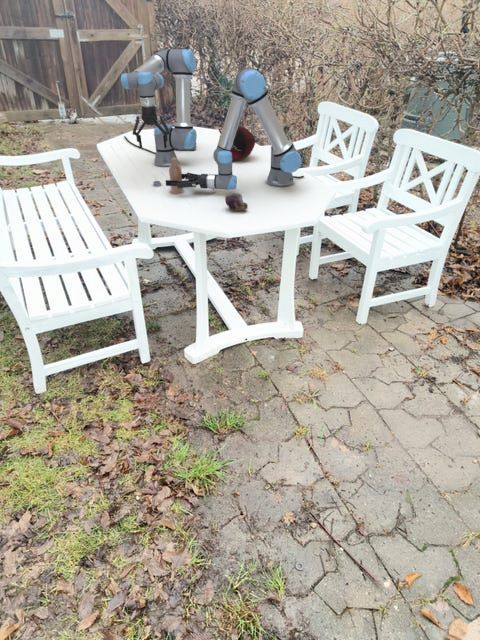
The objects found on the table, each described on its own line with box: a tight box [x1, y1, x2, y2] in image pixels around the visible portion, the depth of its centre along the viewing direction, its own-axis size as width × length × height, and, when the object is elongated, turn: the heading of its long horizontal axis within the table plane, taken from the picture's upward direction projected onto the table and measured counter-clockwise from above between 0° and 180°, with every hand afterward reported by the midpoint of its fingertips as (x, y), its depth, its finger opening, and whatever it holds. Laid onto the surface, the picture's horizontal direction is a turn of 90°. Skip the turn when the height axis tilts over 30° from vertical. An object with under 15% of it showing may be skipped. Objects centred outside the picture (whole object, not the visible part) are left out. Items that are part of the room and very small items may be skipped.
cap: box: [152, 180, 162, 187], centre depth 258 cm, size 4×4×2 cm
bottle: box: [168, 157, 184, 195], centre depth 243 cm, size 7×7×18 cm
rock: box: [224, 192, 249, 212], centre depth 223 cm, size 12×9×10 cm
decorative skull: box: [218, 125, 256, 161], centre depth 298 cm, size 21×24×25 cm
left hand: (153, 147), depth 247 cm, fingers open, 13 cm apart
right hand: (169, 179), depth 245 cm, fingers open, 12 cm apart
